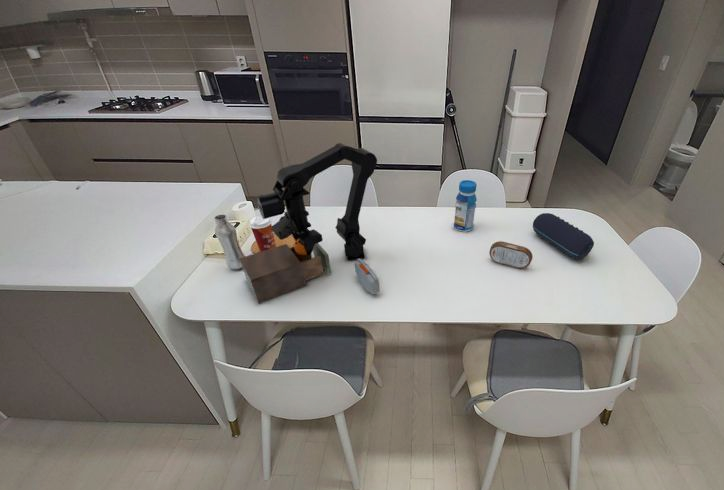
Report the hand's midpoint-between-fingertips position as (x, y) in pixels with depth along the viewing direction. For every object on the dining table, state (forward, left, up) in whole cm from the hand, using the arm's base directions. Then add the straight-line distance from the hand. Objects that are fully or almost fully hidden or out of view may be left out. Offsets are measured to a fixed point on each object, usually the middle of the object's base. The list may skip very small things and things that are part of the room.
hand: (304, 250), depth 118 cm
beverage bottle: (-64, -18, -9) cm, 67 cm away
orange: (-2, -1, 0) cm, 2 cm away
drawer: (+1, 0, -8) cm, 8 cm away
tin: (-71, +11, -9) cm, 72 cm away
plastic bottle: (+25, -9, -9) cm, 28 cm away
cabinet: (+11, +4, -9) cm, 15 cm away
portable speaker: (-96, +4, -9) cm, 97 cm away
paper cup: (+15, -16, -9) cm, 24 cm away
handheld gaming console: (-19, +12, -9) cm, 24 cm away
